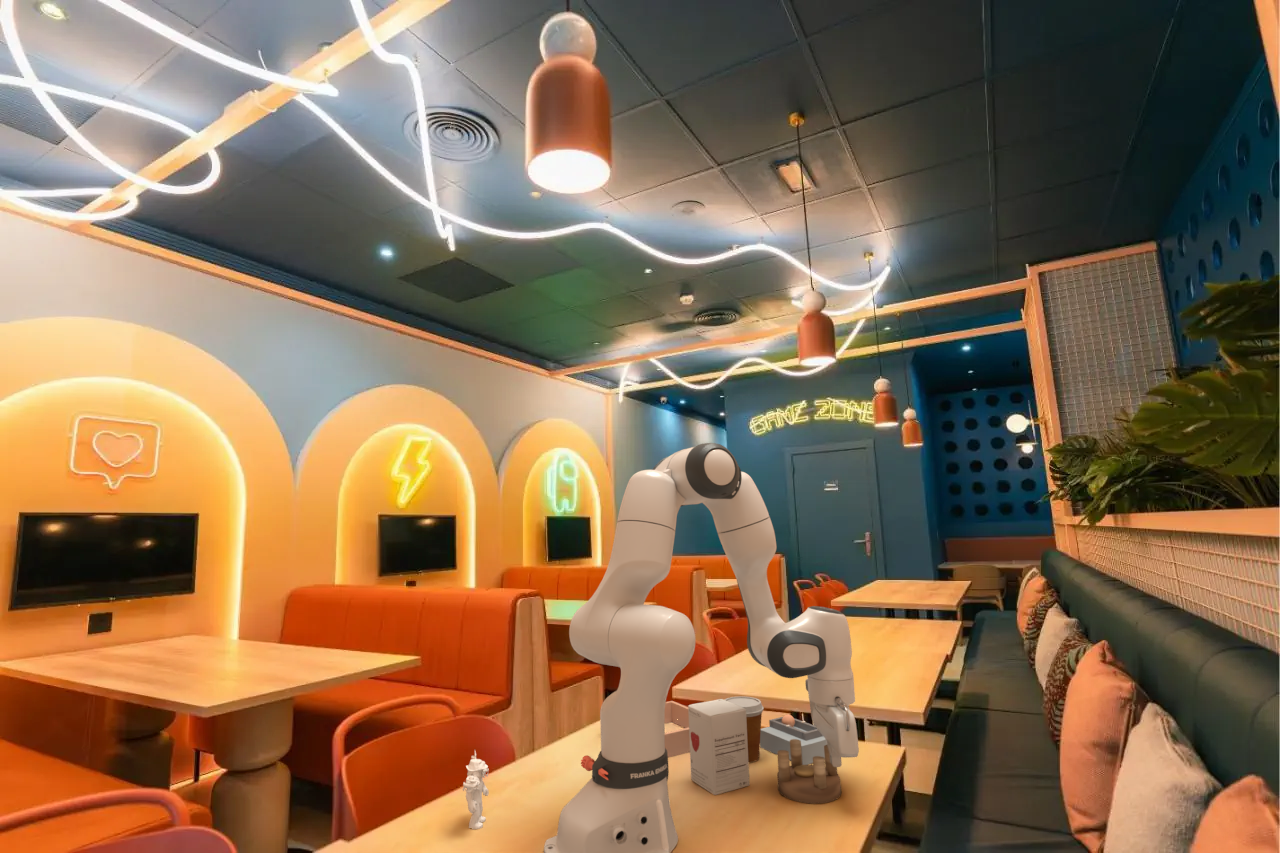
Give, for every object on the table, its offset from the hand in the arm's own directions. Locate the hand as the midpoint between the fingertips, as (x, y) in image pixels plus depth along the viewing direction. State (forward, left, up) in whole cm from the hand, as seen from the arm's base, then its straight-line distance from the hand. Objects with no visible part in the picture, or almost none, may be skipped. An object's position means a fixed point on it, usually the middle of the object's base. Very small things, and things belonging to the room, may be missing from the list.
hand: (835, 765), depth 125 cm
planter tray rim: (-12, +46, -5) cm, 48 cm away
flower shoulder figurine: (-63, +27, -5) cm, 69 cm away
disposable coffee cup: (-3, +25, -5) cm, 25 cm away
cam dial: (-4, +4, -5) cm, 7 cm away
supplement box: (-16, +17, -5) cm, 24 cm away
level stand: (+10, +21, -5) cm, 24 cm away
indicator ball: (+10, +24, 0) cm, 26 cm away
